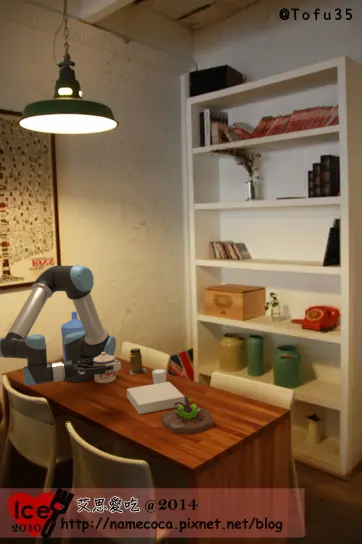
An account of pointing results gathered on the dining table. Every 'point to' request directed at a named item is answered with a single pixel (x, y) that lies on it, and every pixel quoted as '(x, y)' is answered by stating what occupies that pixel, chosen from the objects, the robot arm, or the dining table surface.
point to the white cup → (159, 376)
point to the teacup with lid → (101, 361)
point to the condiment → (136, 362)
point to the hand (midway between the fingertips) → (118, 362)
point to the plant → (187, 418)
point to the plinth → (154, 397)
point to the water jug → (70, 329)
